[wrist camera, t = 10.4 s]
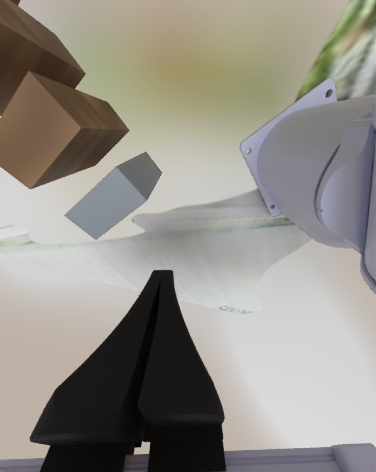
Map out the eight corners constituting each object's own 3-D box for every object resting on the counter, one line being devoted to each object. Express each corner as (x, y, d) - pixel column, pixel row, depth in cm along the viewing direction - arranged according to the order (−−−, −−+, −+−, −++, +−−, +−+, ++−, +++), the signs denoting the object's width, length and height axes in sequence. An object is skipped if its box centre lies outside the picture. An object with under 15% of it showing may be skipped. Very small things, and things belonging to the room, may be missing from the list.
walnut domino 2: (129, 130, 14) (81, 128, 7) (95, 165, 16) (30, 189, 9) (107, 102, 13) (28, 70, 6) (73, 143, 15) (-19, 151, 8)
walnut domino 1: (85, 73, 12) (-36, 1, 5) (51, 120, 14) (-76, 108, 7) (55, 34, 11) (-143, -117, 4) (22, 90, 13) (-163, 42, 6)
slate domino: (162, 172, 16) (147, 200, 10) (128, 199, 18) (95, 240, 11) (146, 151, 15) (115, 166, 8) (112, 182, 17) (64, 215, 10)
